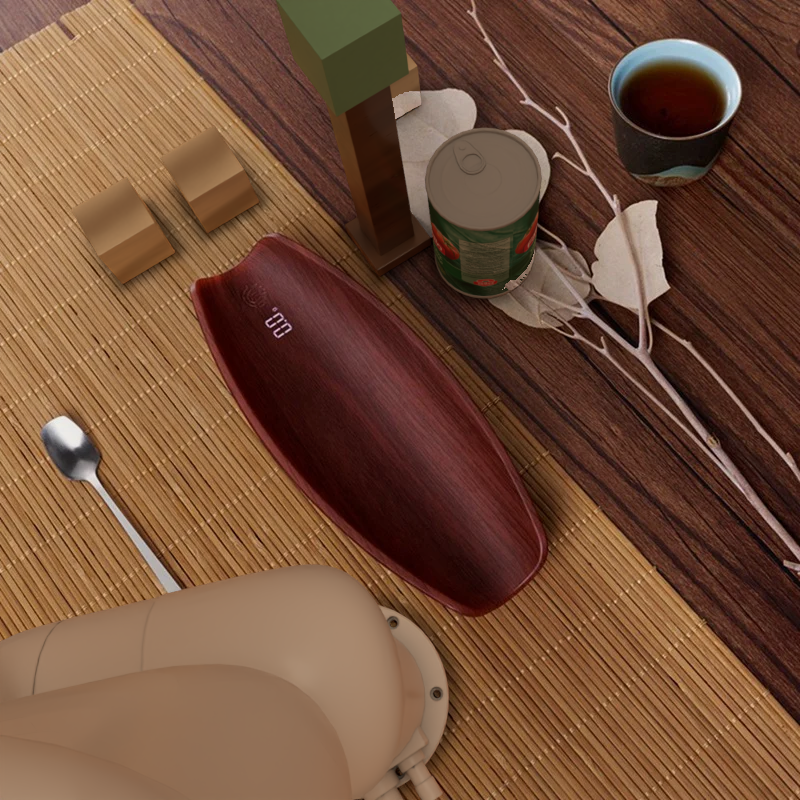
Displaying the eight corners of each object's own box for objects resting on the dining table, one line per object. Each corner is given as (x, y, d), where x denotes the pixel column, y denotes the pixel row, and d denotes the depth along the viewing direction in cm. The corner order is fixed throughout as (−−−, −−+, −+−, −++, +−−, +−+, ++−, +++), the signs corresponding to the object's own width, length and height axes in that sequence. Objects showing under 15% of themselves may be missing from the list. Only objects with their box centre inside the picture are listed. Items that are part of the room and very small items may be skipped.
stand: (431, 245, 73) (409, 73, 54) (379, 277, 73) (336, 117, 53) (398, 199, 75) (364, 17, 55) (346, 231, 74) (293, 59, 55)
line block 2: (259, 202, 76) (244, 169, 71) (207, 233, 76) (188, 202, 71) (230, 159, 78) (213, 124, 73) (179, 190, 77) (159, 156, 72)
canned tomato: (554, 269, 72) (564, 194, 61) (465, 316, 71) (461, 249, 61) (502, 192, 74) (504, 108, 64) (416, 237, 74) (404, 160, 63)
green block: (409, 73, 54) (401, 12, 49) (336, 117, 53) (321, 59, 48) (364, 17, 55) (352, -48, 50) (293, 59, 55) (274, -2, 50)
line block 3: (422, 104, 78) (417, 65, 73) (372, 135, 77) (364, 97, 72) (390, 65, 79) (384, 24, 74) (341, 94, 79) (331, 55, 74)
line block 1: (175, 252, 75) (154, 222, 71) (122, 284, 75) (97, 256, 70) (148, 208, 77) (126, 176, 72) (96, 239, 76) (70, 209, 72)
